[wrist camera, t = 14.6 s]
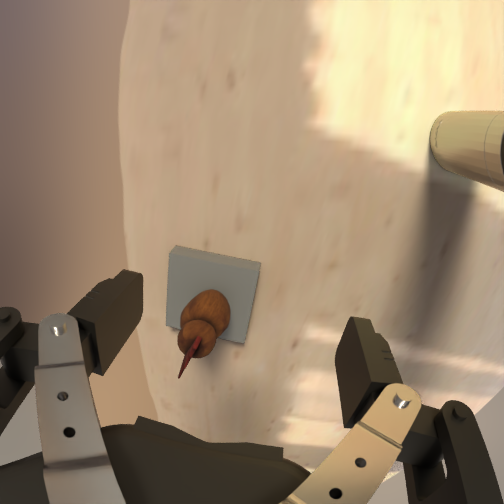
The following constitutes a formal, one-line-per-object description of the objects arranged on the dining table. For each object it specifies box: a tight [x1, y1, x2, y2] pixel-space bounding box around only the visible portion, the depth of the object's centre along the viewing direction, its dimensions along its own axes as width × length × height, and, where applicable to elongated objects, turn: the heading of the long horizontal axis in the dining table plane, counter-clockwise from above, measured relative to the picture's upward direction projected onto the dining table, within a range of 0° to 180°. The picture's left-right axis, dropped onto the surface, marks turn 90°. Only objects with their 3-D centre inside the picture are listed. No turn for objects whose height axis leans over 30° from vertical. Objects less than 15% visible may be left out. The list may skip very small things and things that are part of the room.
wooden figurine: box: [178, 289, 230, 378], centre depth 40 cm, size 7×6×15 cm
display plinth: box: [166, 246, 261, 343], centre depth 48 cm, size 13×13×3 cm
